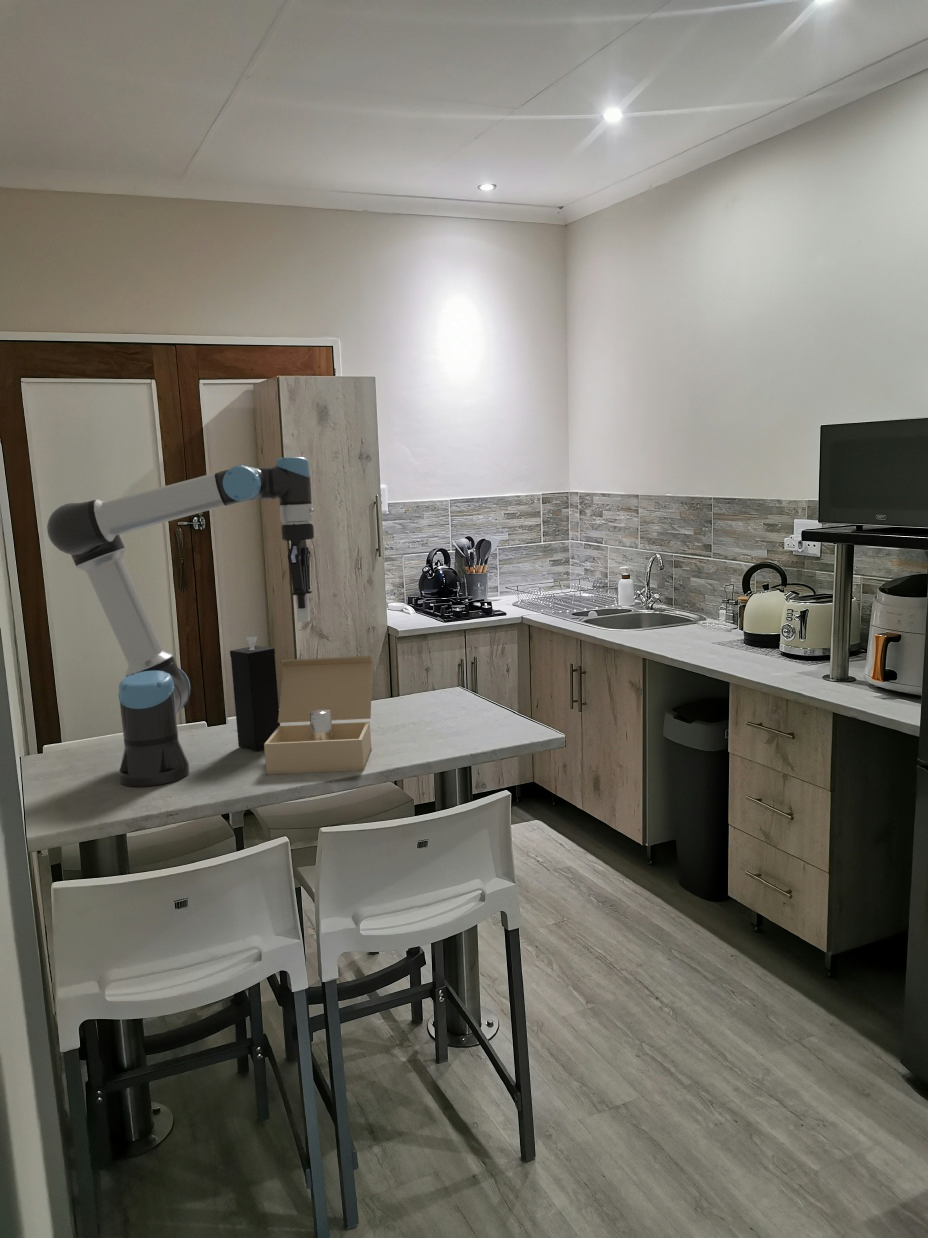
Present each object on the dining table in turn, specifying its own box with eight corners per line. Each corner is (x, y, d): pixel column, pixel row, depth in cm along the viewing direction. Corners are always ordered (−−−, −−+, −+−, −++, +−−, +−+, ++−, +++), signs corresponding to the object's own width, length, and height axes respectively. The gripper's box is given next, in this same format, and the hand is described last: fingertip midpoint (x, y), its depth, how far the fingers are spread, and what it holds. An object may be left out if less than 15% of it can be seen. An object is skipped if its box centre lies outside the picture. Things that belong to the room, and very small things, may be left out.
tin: (310, 758, 216) (307, 715, 215) (314, 752, 221) (311, 710, 220) (332, 757, 216) (329, 714, 215) (335, 751, 221) (332, 709, 219)
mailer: (266, 774, 207) (264, 744, 206) (281, 754, 223) (279, 725, 222) (363, 769, 207) (361, 739, 206) (371, 749, 223) (369, 721, 222)
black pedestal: (282, 744, 231) (273, 635, 228) (256, 752, 226) (246, 639, 222) (264, 740, 237) (255, 632, 233) (238, 747, 231) (228, 637, 227)
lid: (281, 660, 230) (284, 665, 232) (276, 717, 220) (278, 722, 223) (371, 655, 229) (372, 661, 232) (369, 713, 220) (370, 718, 222)
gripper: (306, 523, 212) (313, 624, 215) (318, 521, 225) (324, 617, 228) (274, 524, 212) (281, 626, 215) (288, 522, 225) (295, 618, 228)
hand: (303, 621), depth 222 cm, fingers closed
